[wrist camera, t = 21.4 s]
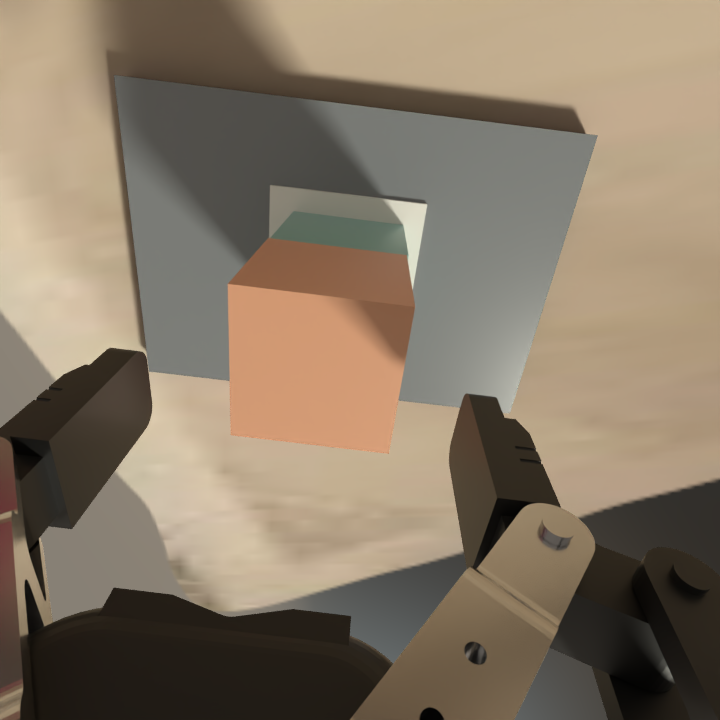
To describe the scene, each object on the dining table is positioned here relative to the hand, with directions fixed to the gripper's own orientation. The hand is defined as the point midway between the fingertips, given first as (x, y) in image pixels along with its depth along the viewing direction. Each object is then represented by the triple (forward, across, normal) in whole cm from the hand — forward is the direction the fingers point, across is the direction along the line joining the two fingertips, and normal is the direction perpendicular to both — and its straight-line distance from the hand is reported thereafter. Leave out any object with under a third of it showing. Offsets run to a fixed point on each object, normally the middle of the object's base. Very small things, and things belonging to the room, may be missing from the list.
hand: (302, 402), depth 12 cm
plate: (+13, 0, 0) cm, 13 cm away
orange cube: (+7, 0, 0) cm, 7 cm away
